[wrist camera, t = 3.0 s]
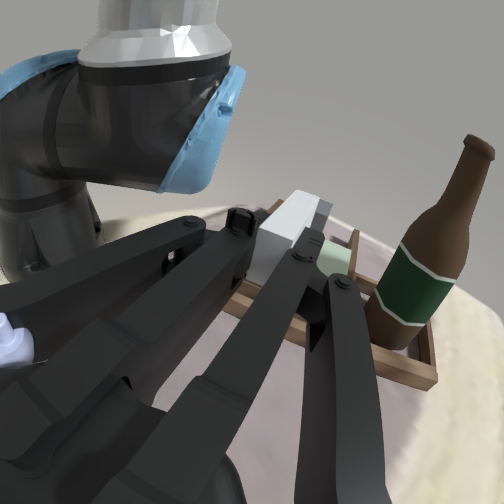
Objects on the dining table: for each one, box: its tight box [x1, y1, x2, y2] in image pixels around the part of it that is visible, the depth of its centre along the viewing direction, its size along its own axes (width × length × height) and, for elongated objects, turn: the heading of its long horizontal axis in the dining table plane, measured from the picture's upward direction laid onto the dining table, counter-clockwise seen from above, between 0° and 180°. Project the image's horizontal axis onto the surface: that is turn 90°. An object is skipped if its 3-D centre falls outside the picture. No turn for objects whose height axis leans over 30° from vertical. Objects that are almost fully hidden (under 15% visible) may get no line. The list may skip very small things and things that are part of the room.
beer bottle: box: [364, 134, 495, 350], centre depth 23 cm, size 8×8×24 cm
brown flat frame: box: [222, 199, 438, 391], centre depth 35 cm, size 27×26×3 cm
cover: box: [246, 199, 352, 277], centre depth 30 cm, size 13×13×9 cm
